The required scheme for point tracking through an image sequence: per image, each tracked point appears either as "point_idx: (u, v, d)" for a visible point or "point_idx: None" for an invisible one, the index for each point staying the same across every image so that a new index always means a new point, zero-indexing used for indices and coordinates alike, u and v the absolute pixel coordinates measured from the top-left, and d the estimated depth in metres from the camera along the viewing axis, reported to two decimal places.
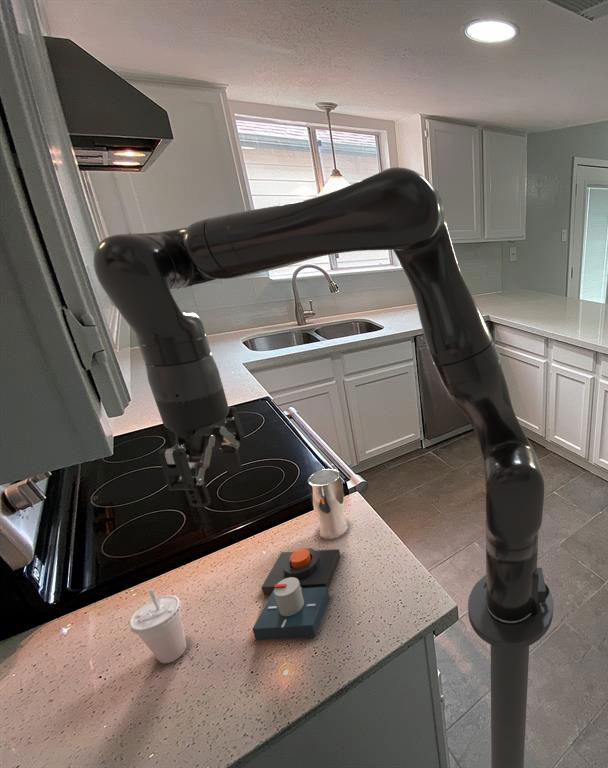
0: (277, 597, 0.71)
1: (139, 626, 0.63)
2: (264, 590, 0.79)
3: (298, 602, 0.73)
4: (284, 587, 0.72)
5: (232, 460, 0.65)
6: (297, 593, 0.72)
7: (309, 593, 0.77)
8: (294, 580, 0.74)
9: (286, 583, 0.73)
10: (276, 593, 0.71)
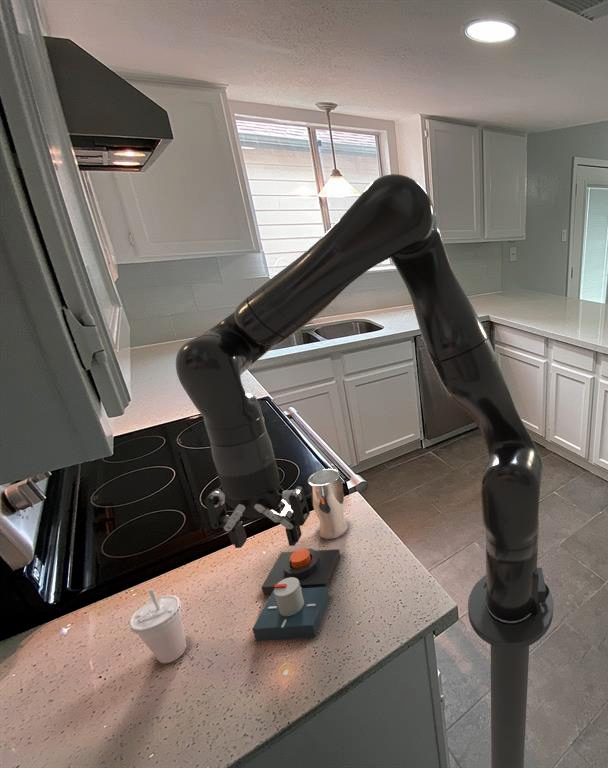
0: (277, 597, 0.71)
1: (139, 626, 0.63)
2: (264, 590, 0.79)
3: (298, 602, 0.73)
4: (284, 587, 0.72)
5: (241, 532, 0.67)
6: (297, 593, 0.72)
7: (309, 593, 0.77)
8: (294, 580, 0.74)
9: (286, 583, 0.73)
10: (276, 593, 0.71)
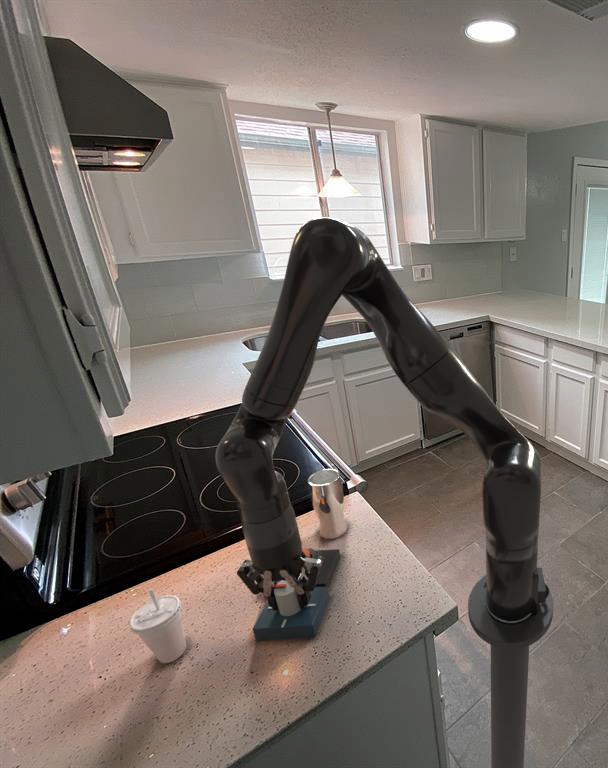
0: (277, 597, 0.71)
1: (139, 626, 0.63)
2: None
3: (298, 602, 0.73)
4: (284, 587, 0.72)
5: None
6: None
7: None
8: None
9: (286, 583, 0.73)
10: (276, 593, 0.71)
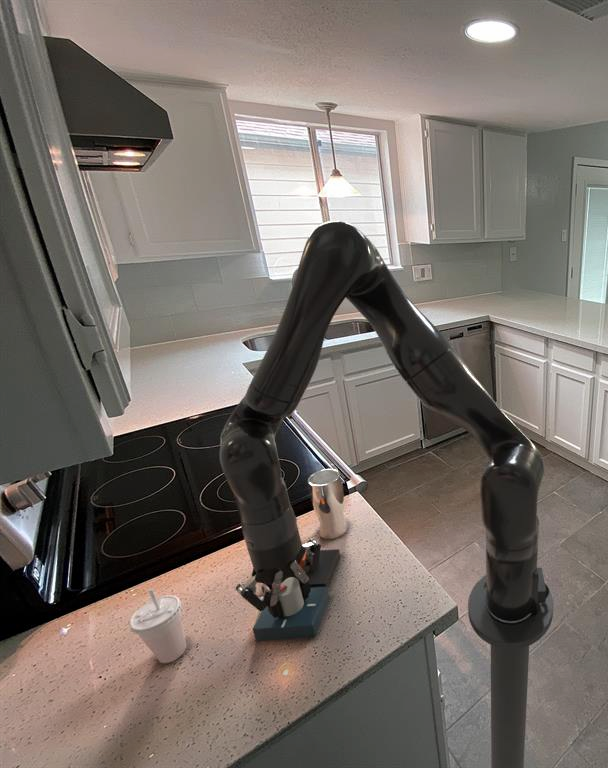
0: (287, 597, 0.71)
1: (139, 626, 0.63)
2: None
3: None
4: (286, 587, 0.72)
5: None
6: None
7: (309, 593, 0.77)
8: (287, 579, 0.74)
9: (283, 585, 0.72)
10: (284, 594, 0.71)
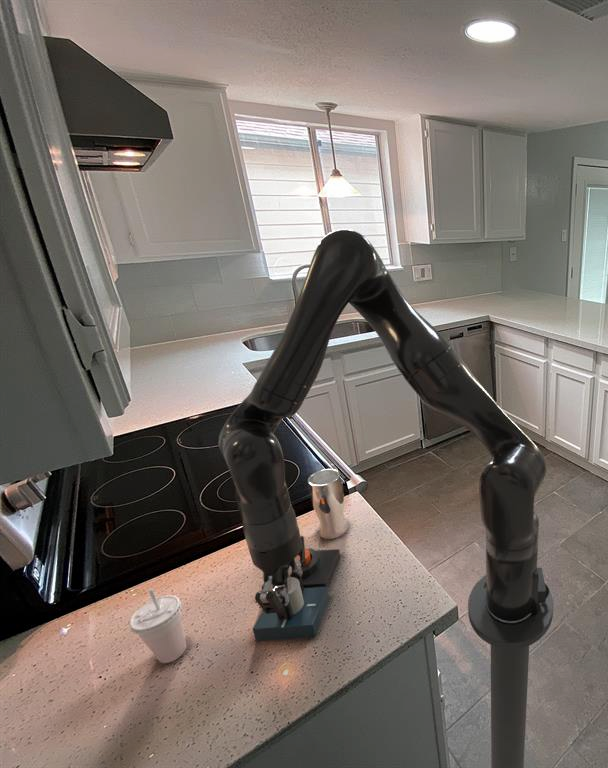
0: (295, 591, 0.72)
1: (139, 626, 0.63)
2: None
3: None
4: None
5: None
6: None
7: (309, 593, 0.77)
8: None
9: None
10: (292, 590, 0.72)
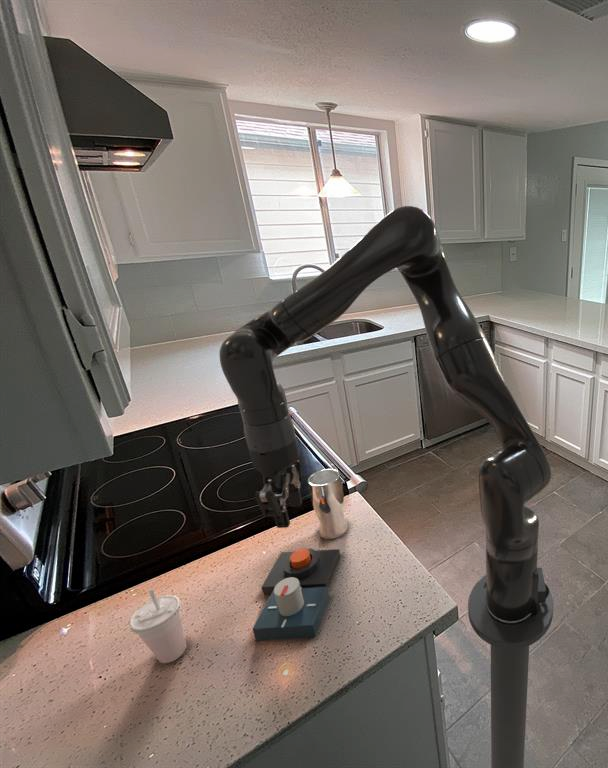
0: (295, 591, 0.72)
1: (139, 626, 0.63)
2: (264, 590, 0.79)
3: None
4: (287, 586, 0.72)
5: None
6: None
7: (309, 593, 0.77)
8: (281, 583, 0.73)
9: (282, 587, 0.72)
10: (292, 590, 0.72)
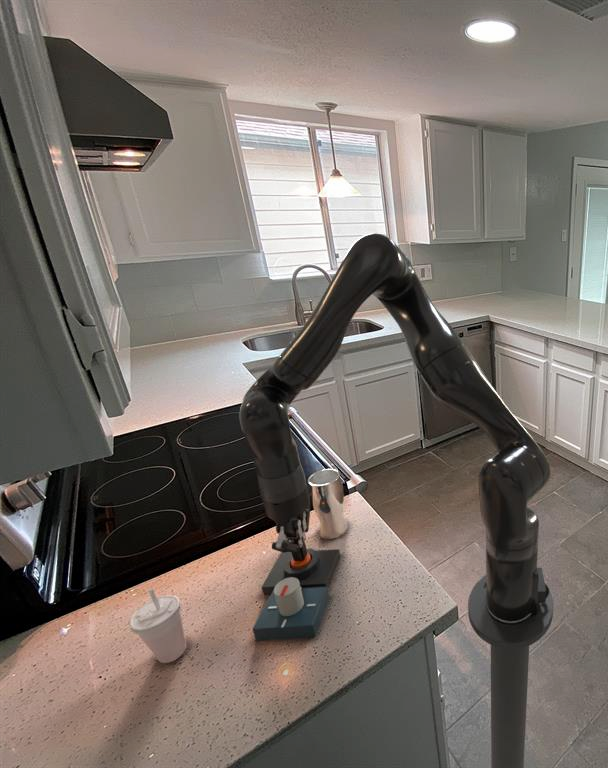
0: (295, 591, 0.72)
1: (139, 626, 0.63)
2: (264, 590, 0.79)
3: None
4: (287, 586, 0.72)
5: None
6: None
7: (309, 593, 0.77)
8: (281, 583, 0.73)
9: (282, 587, 0.72)
10: (292, 590, 0.72)
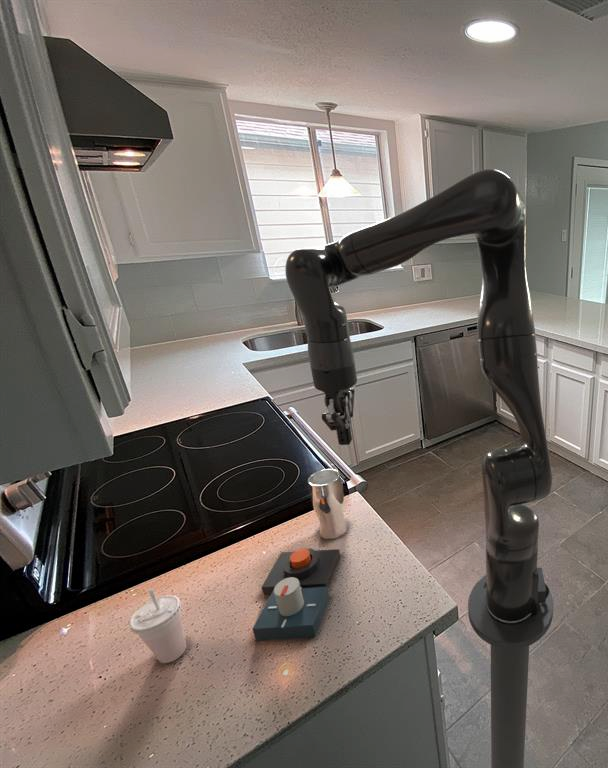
0: (295, 591, 0.72)
1: (139, 626, 0.63)
2: (264, 590, 0.79)
3: None
4: (287, 586, 0.72)
5: None
6: None
7: (309, 593, 0.77)
8: (281, 583, 0.73)
9: (282, 587, 0.72)
10: (292, 590, 0.72)
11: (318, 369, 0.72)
